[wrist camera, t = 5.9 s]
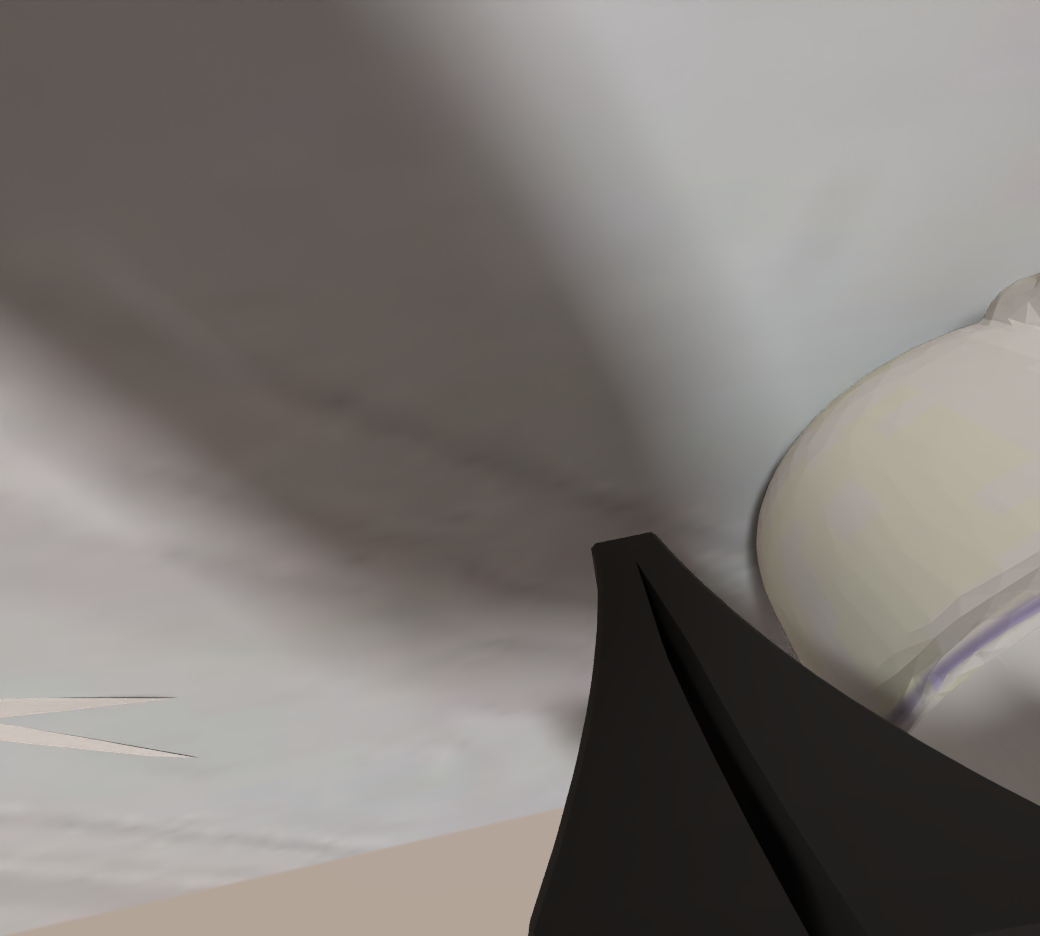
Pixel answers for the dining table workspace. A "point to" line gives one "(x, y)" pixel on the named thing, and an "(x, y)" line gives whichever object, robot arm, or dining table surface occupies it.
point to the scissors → (61, 740)
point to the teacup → (925, 542)
